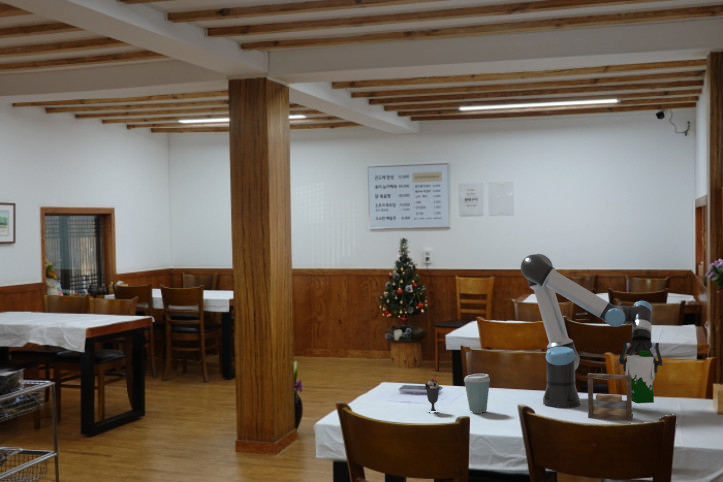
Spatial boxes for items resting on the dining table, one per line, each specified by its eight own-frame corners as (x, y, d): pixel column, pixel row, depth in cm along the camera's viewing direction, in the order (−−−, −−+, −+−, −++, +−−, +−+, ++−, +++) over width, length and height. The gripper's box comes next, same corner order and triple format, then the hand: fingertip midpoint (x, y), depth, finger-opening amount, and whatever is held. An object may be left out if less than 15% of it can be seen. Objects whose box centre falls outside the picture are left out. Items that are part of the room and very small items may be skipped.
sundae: (442, 410, 314) (442, 374, 315) (439, 414, 308) (438, 376, 308) (427, 410, 316) (426, 373, 317) (423, 413, 310) (422, 376, 310)
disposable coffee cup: (474, 415, 303) (473, 377, 304) (459, 411, 313) (458, 374, 313) (496, 412, 308) (495, 375, 309) (480, 408, 318) (479, 372, 318)
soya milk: (657, 403, 301) (655, 352, 301) (635, 404, 300) (633, 353, 300) (647, 398, 310) (645, 349, 310) (625, 399, 309) (623, 350, 309)
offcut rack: (588, 417, 296) (587, 374, 296) (590, 414, 301) (589, 372, 302) (631, 420, 289) (630, 376, 289) (633, 417, 295) (632, 374, 295)
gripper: (670, 339, 315) (670, 385, 300) (615, 338, 324) (612, 382, 309) (669, 328, 310) (669, 373, 295) (613, 327, 319) (610, 371, 304)
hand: (639, 378), depth 302 cm, fingers closed on soya milk, 9 cm apart
